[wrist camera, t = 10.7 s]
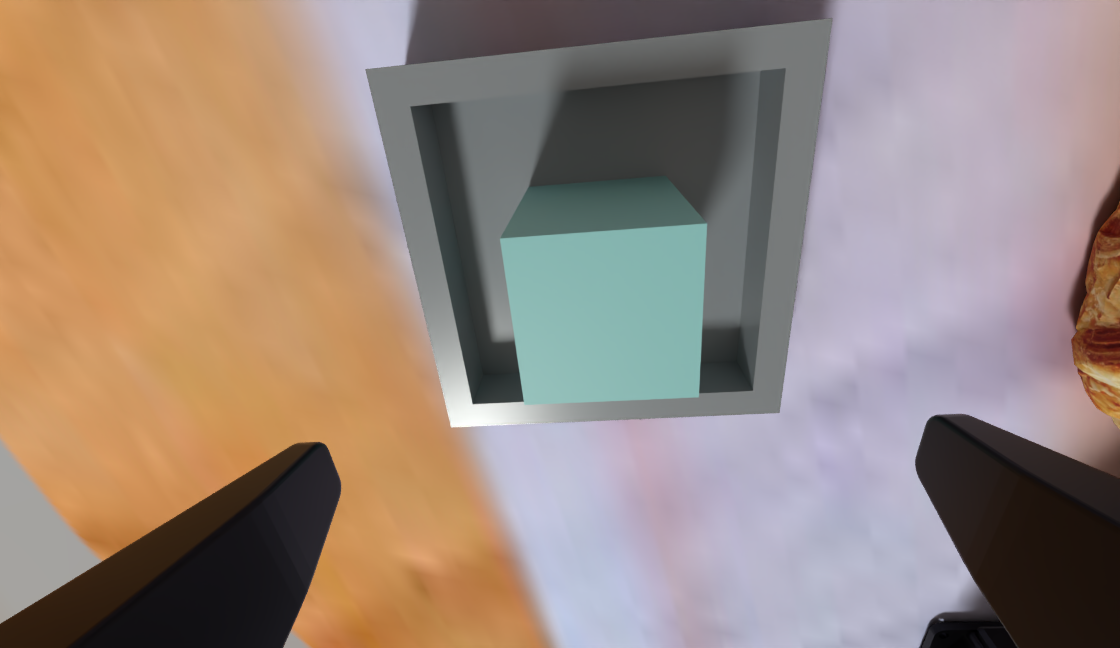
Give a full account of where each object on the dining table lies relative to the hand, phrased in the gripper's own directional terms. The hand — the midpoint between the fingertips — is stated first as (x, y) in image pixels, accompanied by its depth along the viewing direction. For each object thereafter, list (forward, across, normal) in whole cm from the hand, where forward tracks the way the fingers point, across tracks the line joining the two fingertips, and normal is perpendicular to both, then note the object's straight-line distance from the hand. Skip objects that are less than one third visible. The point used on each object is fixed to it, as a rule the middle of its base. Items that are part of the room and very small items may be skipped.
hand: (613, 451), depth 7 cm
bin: (+12, 0, 0) cm, 12 cm away
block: (+11, 0, 0) cm, 11 cm away
